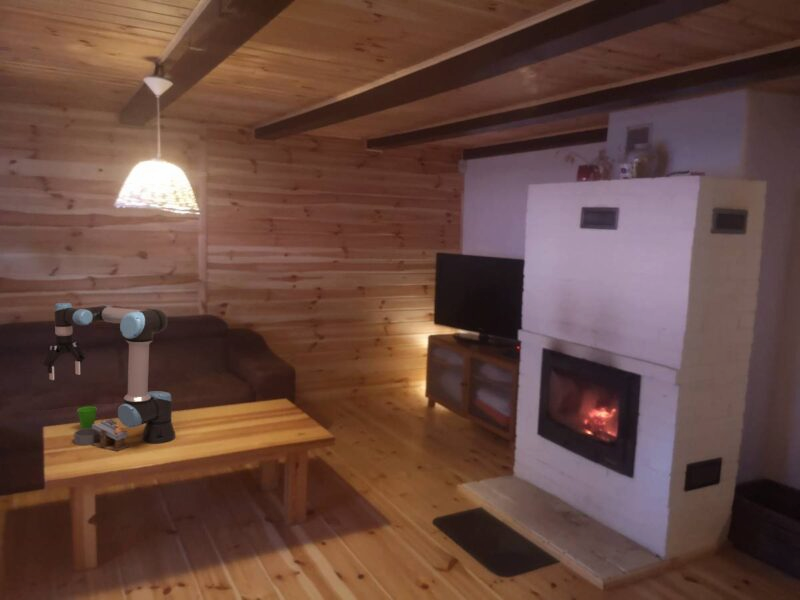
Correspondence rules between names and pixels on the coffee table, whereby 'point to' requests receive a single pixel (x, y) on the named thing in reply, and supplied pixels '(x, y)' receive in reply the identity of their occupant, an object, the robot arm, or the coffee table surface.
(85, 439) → the dish
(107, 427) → the grey slab
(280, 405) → the coffee table surface
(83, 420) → the cup
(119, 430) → the ball
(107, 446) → the fulcrum
